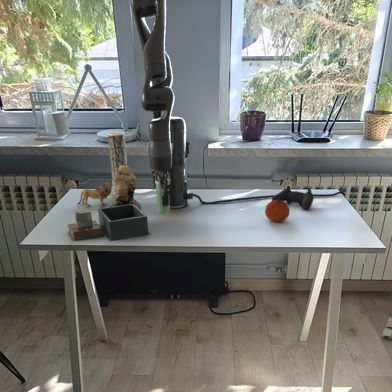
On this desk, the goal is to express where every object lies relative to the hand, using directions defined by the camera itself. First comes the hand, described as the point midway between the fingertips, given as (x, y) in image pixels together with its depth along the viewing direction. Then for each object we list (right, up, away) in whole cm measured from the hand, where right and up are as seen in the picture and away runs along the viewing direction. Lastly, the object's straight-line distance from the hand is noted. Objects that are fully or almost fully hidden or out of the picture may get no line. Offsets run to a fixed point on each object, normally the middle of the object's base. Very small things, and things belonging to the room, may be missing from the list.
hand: (163, 203), depth 178 cm
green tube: (0, -2, +2) cm, 3 cm away
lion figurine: (-29, +8, +29) cm, 42 cm away
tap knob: (-28, -8, 0) cm, 29 cm away
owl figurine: (-17, +5, +25) cm, 30 cm away
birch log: (-21, +16, +42) cm, 50 cm away
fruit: (+42, -3, +11) cm, 44 cm away
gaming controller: (+52, +7, +27) cm, 58 cm away
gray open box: (-15, -8, +4) cm, 18 cm away
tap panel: (-28, -11, +1) cm, 30 cm away
